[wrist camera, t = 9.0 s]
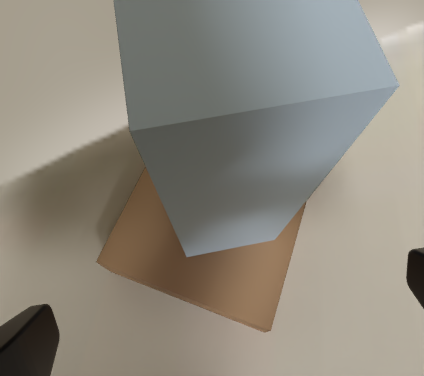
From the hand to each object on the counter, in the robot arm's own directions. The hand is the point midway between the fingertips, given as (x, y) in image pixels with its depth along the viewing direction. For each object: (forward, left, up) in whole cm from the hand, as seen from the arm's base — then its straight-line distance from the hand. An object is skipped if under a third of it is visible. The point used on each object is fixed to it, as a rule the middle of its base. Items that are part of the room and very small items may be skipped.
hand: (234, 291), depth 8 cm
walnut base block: (+3, -5, -11) cm, 12 cm away
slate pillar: (+2, -5, -8) cm, 9 cm away
